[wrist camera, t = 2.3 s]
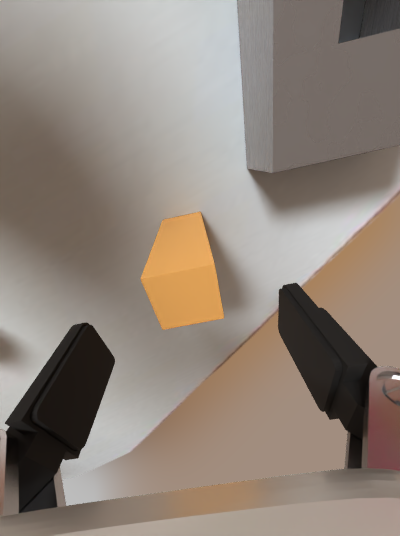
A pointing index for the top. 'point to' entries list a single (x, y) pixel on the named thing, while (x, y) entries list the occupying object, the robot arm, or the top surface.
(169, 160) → the top surface
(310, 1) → the socket block
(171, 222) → the wedge peg
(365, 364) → the robot arm
